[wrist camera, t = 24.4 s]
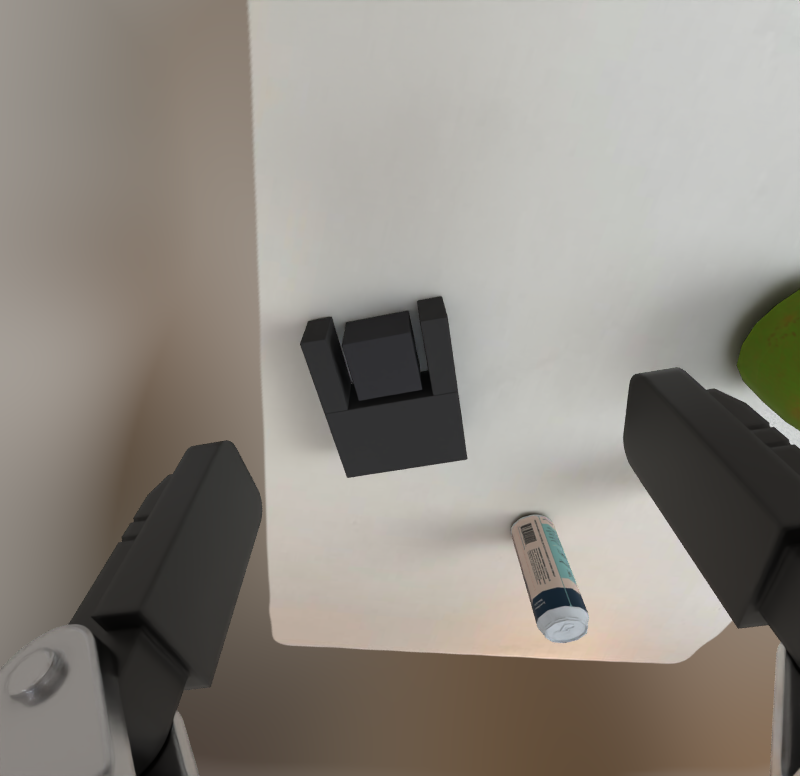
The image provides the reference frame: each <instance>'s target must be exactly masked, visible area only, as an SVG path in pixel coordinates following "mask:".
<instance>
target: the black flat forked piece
mask: <svg viewBox="0 0 800 776" xmlns="http://www.w3.org/2000/svg"><path fill="white" fill-rule="evenodd" d="M417 304H418V311H419V318H420V324H421V330H422V335H423V341H424V347H425V352H426V358H427V364H428V369H429V371H425V372H420V374H421V382H422V390H418V391H412V392H406V393H401V394H395V395H389V396H384V397H378V398H372V399H367V400H361V401H359V400H358V396H357V393H356V390H355V387H354V384H351V380H350V377H349V374H348V370H347V367H346V364H345V360H344V357H343V354H342V350H341V347H340V343H339V340H338V337H337V333H336V330H335V327H334V323H333V320H332V317H328V318H323V319H317V320H312V321H308V323H307V326H306V329H305V331H304V334H303V337H302V340H301V342H300V345H301V348H302V351H303V354H304V357H305V359H306V362H307V365H308V368H309V371H310V374H311V376H312V379H313V382H314V385H315V388H316V391H317V393H318V396H319V399H320V402H321V405H322V408H323V410H324V413H325V416H326V419H327V422H328V425H329V427H330V430H331V433H332V436H333V439H334V442H335V444H336V447H337V450H338V453H339V456H340V459H341V461H342V464H343V467H344V470H345V473H346V476H347V478H349V477H356V476H362V475H369V474H375V473H382V472H388V471H395V470H401V469H408V468H414V467H421V466H427V465H434V464H440V463H447V462H453V461H460V460H466V459H467V453H466V445H465V438H464V431H463V424H462V417H461V410H460V403H459V395H458V388H457V381H456V374H455V367H454V360H453V352H452V345H451V338H450V331H449V324H448V317H447V313H446V310H445V306H444V302H443V299H442V297H435V298H430V299H425V300H419V301H417Z"/></svg>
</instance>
